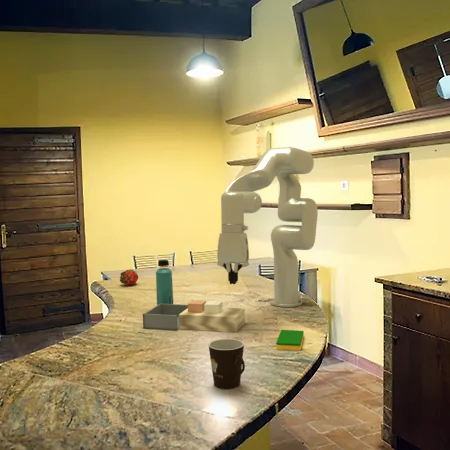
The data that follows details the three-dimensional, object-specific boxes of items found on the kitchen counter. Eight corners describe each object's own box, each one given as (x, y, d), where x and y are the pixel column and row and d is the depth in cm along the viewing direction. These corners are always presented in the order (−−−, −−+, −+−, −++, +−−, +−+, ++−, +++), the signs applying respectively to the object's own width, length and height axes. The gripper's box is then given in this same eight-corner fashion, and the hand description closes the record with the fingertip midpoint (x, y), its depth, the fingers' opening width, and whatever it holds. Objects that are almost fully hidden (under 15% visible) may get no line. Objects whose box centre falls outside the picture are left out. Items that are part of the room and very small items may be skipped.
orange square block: (206, 309, 181) (205, 300, 181) (201, 312, 176) (201, 304, 176) (192, 308, 182) (192, 300, 182) (187, 312, 178) (187, 303, 177)
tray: (191, 318, 188) (191, 305, 188) (176, 330, 174) (176, 315, 173) (160, 316, 192) (160, 303, 191) (143, 328, 177) (142, 314, 177)
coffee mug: (208, 378, 131) (207, 339, 130) (242, 376, 131) (241, 338, 130) (211, 397, 119) (210, 355, 118) (248, 395, 120) (247, 353, 119)
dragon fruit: (122, 291, 247) (132, 289, 258) (136, 280, 246) (145, 279, 257) (113, 276, 248) (123, 275, 260) (126, 266, 247) (136, 265, 259)
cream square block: (222, 310, 179) (222, 301, 179) (218, 313, 175) (218, 304, 174) (208, 309, 181) (208, 301, 181) (204, 313, 176) (204, 304, 176)
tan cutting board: (244, 322, 181) (244, 308, 181) (236, 332, 170) (236, 317, 169) (191, 319, 187) (190, 306, 186) (179, 329, 175) (178, 314, 175)
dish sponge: (303, 337, 164) (303, 330, 163) (300, 352, 150) (300, 344, 150) (281, 336, 165) (281, 329, 165) (276, 350, 152) (276, 342, 152)
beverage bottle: (171, 313, 196) (169, 261, 195) (154, 313, 198) (152, 261, 196) (176, 309, 203) (174, 258, 201) (159, 308, 204) (158, 258, 202)
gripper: (256, 228, 175) (257, 282, 176) (214, 228, 179) (215, 280, 180) (252, 230, 168) (252, 286, 169) (207, 229, 172) (208, 284, 173)
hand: (233, 283), depth 174 cm, fingers closed
